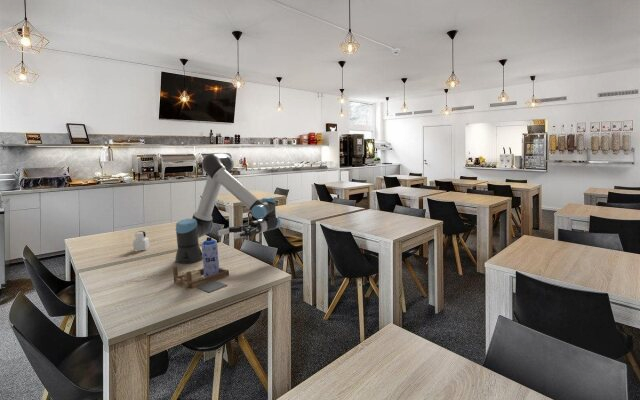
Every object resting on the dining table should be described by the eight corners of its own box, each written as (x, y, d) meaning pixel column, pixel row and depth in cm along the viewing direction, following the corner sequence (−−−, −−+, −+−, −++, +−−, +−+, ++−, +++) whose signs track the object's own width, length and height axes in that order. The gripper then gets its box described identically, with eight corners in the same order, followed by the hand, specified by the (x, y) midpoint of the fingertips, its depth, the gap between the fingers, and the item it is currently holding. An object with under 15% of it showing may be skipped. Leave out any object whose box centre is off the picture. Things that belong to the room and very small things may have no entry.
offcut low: (183, 283, 169) (182, 277, 168) (194, 279, 173) (193, 273, 173) (190, 286, 164) (190, 280, 164) (202, 282, 169) (201, 276, 168)
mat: (196, 287, 161) (196, 286, 161) (215, 281, 169) (215, 280, 169) (208, 292, 155) (208, 292, 155) (227, 285, 163) (227, 284, 163)
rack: (174, 282, 168) (172, 266, 167) (213, 269, 185) (212, 255, 184) (189, 289, 160) (188, 272, 159) (229, 275, 177) (228, 260, 175)
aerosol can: (203, 279, 172) (200, 240, 169) (204, 273, 179) (201, 236, 176) (219, 277, 174) (217, 238, 171) (219, 272, 181) (217, 234, 179)
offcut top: (183, 277, 168) (183, 272, 167) (191, 274, 172) (191, 269, 172) (192, 279, 165) (192, 274, 164) (200, 275, 169) (200, 270, 169)
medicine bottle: (138, 248, 230) (136, 230, 229) (149, 247, 231) (147, 230, 229) (134, 251, 223) (132, 233, 222) (145, 250, 224) (143, 232, 222)
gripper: (272, 235, 190) (241, 245, 174) (243, 230, 206) (213, 238, 190) (272, 222, 189) (240, 230, 173) (243, 218, 205) (211, 225, 189)
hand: (226, 234), depth 181 cm, fingers open, 13 cm apart
